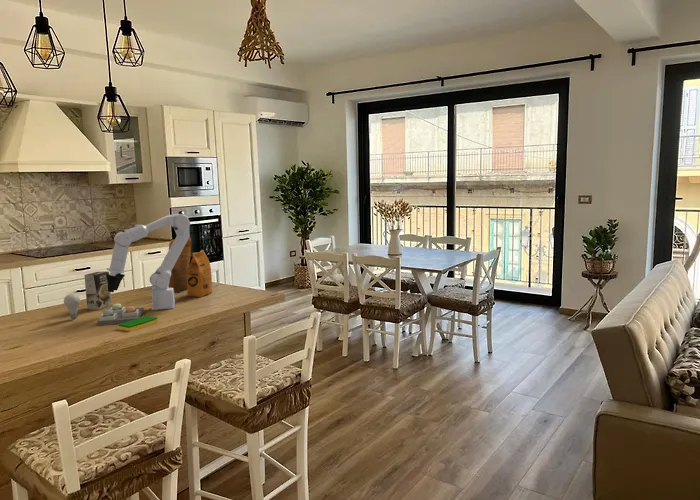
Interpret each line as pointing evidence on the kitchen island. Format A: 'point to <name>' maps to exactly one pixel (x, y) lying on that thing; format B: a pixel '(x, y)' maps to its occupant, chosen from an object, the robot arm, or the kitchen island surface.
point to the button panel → (120, 316)
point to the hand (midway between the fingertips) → (112, 290)
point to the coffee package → (199, 275)
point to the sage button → (116, 307)
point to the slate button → (107, 313)
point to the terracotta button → (130, 309)
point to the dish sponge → (137, 323)
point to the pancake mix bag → (180, 268)
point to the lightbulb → (72, 304)
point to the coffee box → (97, 290)
